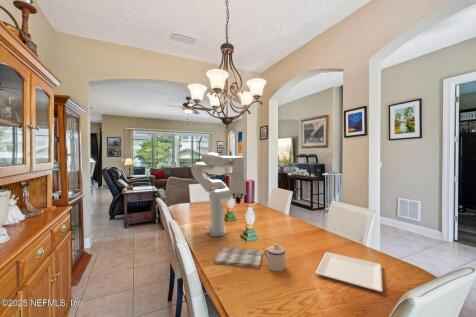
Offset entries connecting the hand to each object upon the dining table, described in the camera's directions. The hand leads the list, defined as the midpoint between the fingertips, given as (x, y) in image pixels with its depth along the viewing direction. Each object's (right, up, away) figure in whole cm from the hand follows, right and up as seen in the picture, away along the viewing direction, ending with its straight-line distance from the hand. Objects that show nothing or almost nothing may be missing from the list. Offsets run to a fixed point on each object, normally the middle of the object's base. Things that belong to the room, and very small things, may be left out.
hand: (238, 203), depth 141 cm
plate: (+54, -26, -36) cm, 70 cm away
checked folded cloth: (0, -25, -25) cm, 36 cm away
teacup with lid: (+18, -26, -31) cm, 44 cm away
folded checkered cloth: (+2, -25, -17) cm, 31 cm away
